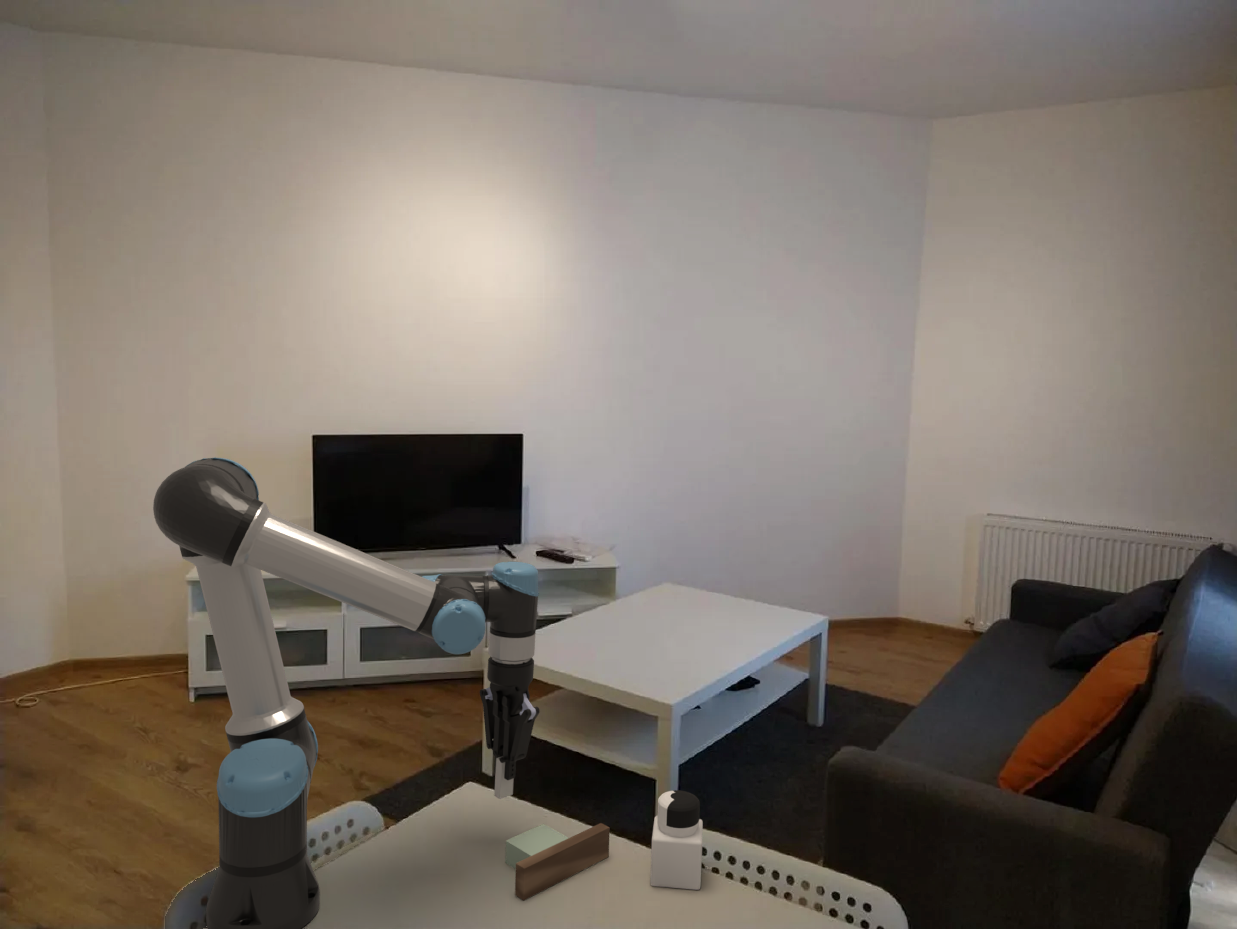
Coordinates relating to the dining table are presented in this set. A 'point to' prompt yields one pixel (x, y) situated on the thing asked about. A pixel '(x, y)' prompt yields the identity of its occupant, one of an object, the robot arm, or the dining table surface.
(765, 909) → the dining table surface
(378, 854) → the dining table surface
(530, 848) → the block
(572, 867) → the board
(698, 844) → the container
